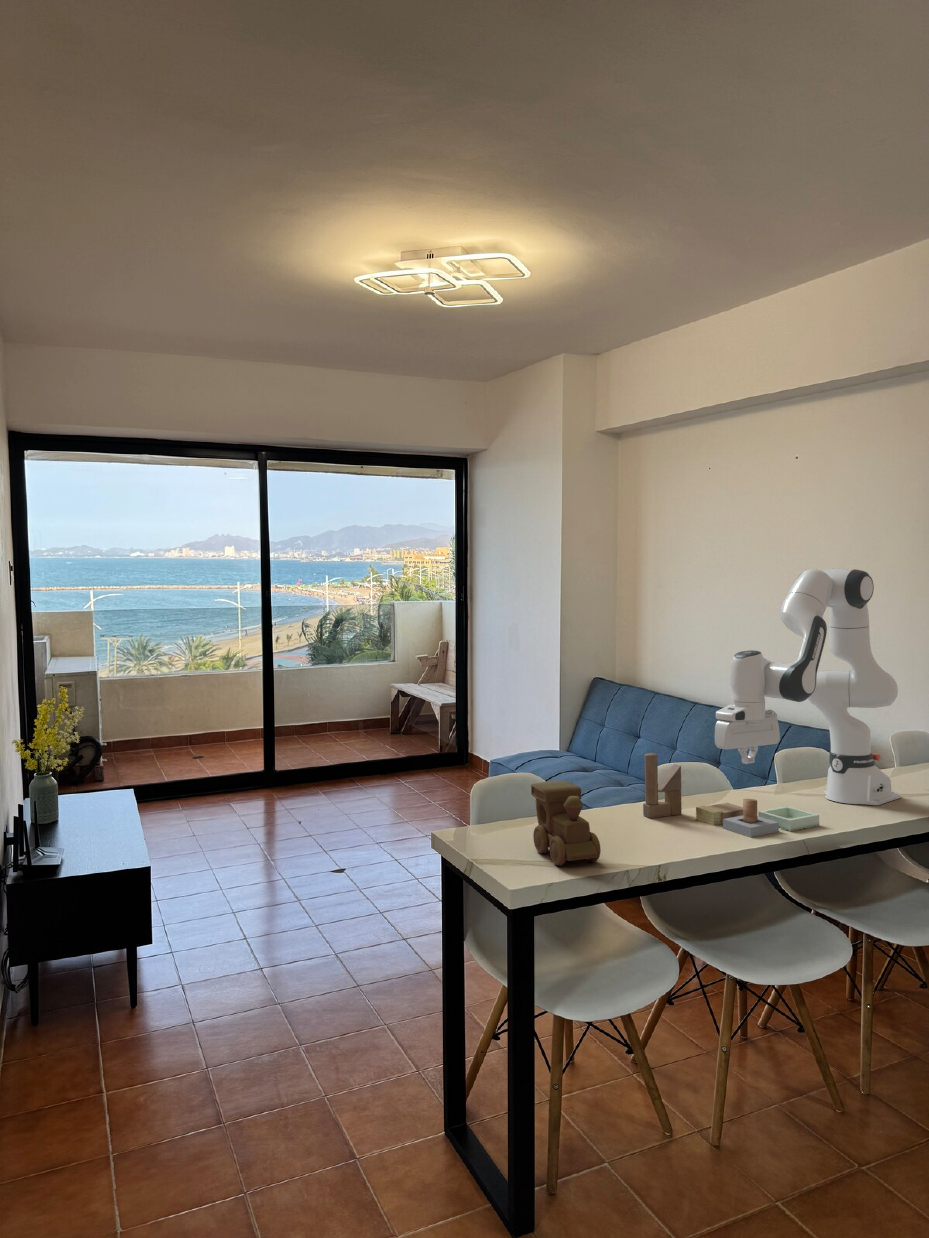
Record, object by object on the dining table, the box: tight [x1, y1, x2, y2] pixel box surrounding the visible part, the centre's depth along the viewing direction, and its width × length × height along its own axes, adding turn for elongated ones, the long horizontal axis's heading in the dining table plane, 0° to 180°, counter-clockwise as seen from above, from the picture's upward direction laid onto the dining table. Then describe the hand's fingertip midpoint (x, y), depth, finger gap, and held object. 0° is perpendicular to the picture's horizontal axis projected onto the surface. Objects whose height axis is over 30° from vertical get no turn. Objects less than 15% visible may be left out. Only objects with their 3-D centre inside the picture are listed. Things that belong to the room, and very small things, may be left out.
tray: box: [757, 805, 820, 832], centre depth 233 cm, size 11×11×3 cm
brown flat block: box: [707, 802, 743, 825], centre depth 240 cm, size 9×8×4 cm
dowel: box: [742, 798, 758, 824], centre depth 228 cm, size 4×4×8 cm
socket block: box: [722, 815, 779, 838], centre depth 228 cm, size 10×10×2 cm
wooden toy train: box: [530, 780, 601, 867], centre depth 209 cm, size 20×11×17 cm, turn 17°
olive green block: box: [695, 805, 723, 826], centre depth 237 cm, size 3×7×4 cm, turn 27°
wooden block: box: [642, 752, 682, 819], centre depth 245 cm, size 4×11×18 cm, turn 109°
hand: (748, 763), depth 228 cm, fingers closed
